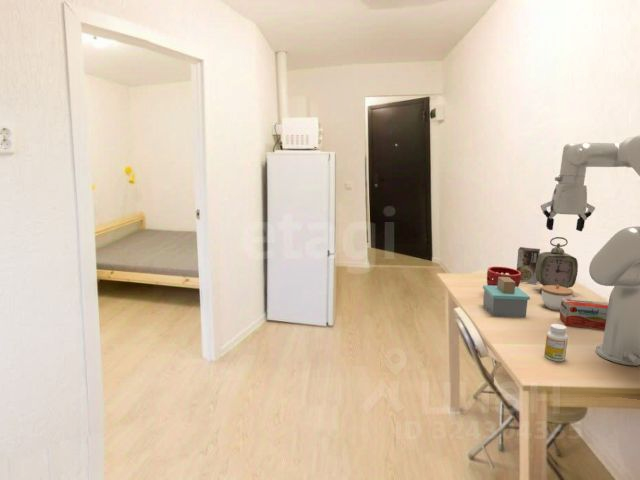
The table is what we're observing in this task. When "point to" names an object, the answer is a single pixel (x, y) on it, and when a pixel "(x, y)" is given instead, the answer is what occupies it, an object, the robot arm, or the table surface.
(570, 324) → the medicine box
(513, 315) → the storage box
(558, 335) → the supplement bottle
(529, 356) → the table surface
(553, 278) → the tabletop clock
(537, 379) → the table surface
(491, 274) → the plant pot
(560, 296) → the lidded jar
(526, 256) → the coffee box
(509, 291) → the teal base with post
